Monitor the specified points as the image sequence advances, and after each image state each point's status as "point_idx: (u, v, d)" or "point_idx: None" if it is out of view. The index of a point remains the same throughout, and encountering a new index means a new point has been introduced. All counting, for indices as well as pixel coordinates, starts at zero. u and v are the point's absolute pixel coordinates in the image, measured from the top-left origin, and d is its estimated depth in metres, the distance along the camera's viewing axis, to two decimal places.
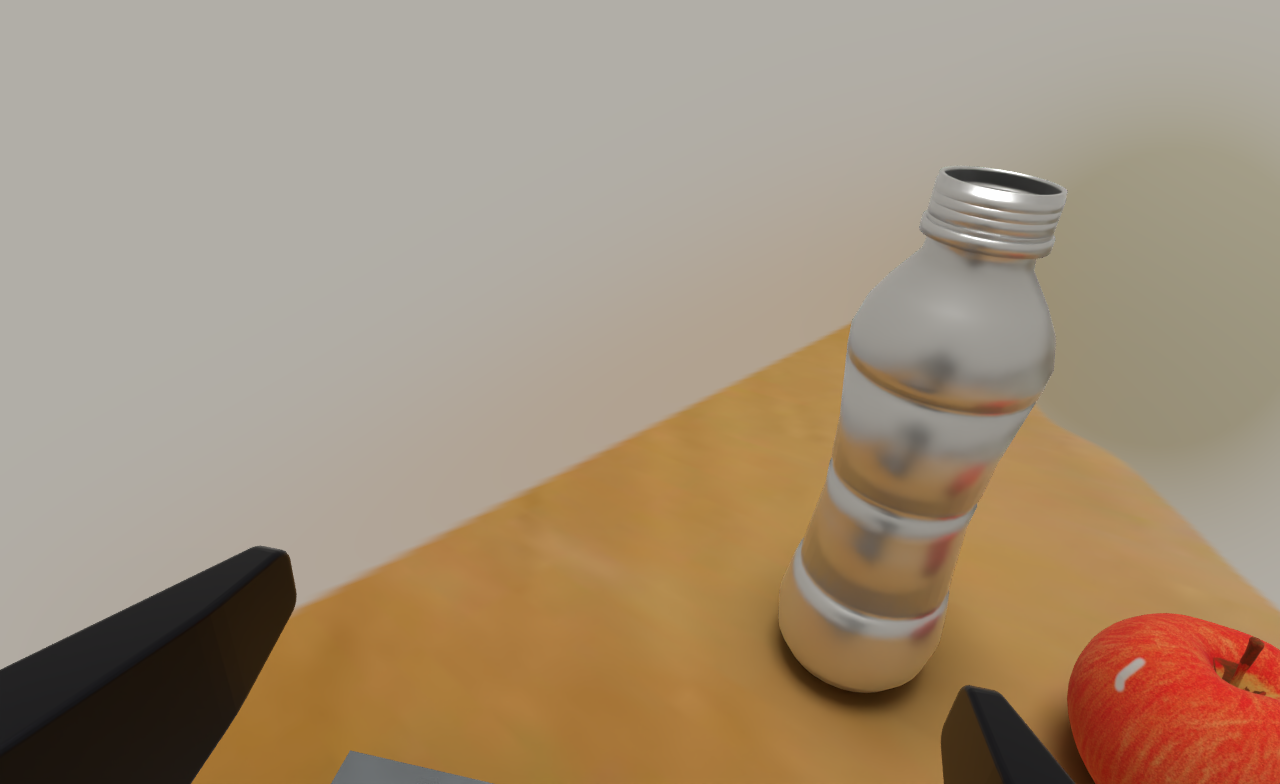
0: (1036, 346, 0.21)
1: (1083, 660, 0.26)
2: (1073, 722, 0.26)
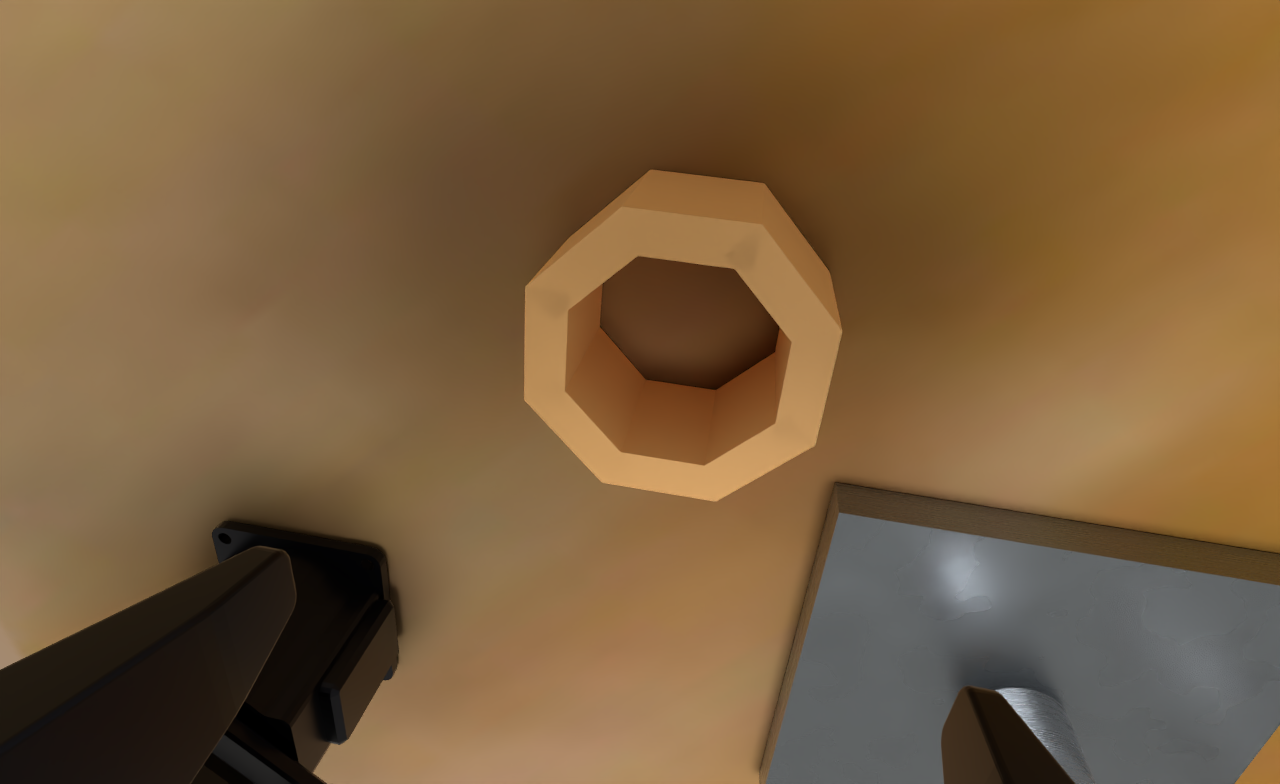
0: None
1: None
2: None
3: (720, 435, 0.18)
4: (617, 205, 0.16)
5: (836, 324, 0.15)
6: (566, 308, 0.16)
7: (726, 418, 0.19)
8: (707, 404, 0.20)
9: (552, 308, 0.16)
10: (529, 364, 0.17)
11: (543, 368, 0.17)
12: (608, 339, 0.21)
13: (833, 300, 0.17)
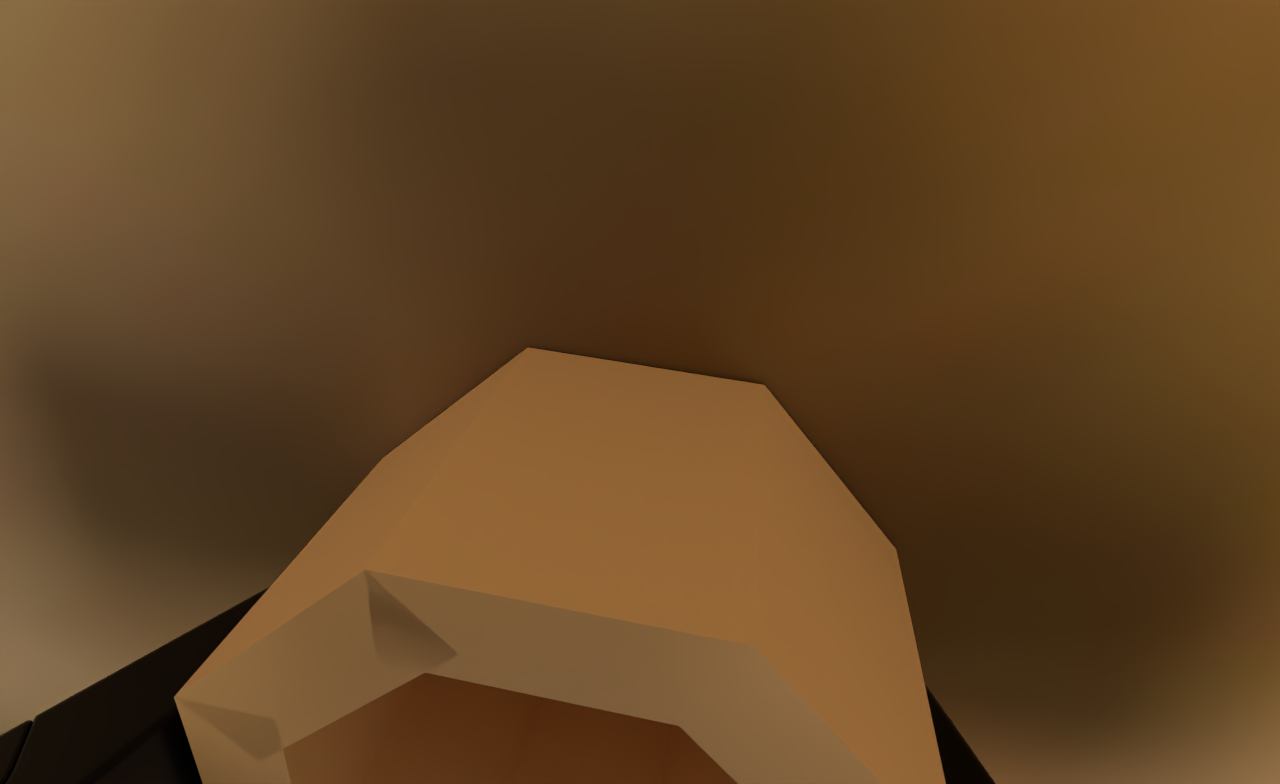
0: None
1: None
2: None
3: None
4: (405, 494, 0.07)
5: None
6: (278, 745, 0.07)
7: None
8: (653, 762, 0.11)
9: (247, 741, 0.07)
10: None
11: None
12: None
13: (922, 699, 0.07)
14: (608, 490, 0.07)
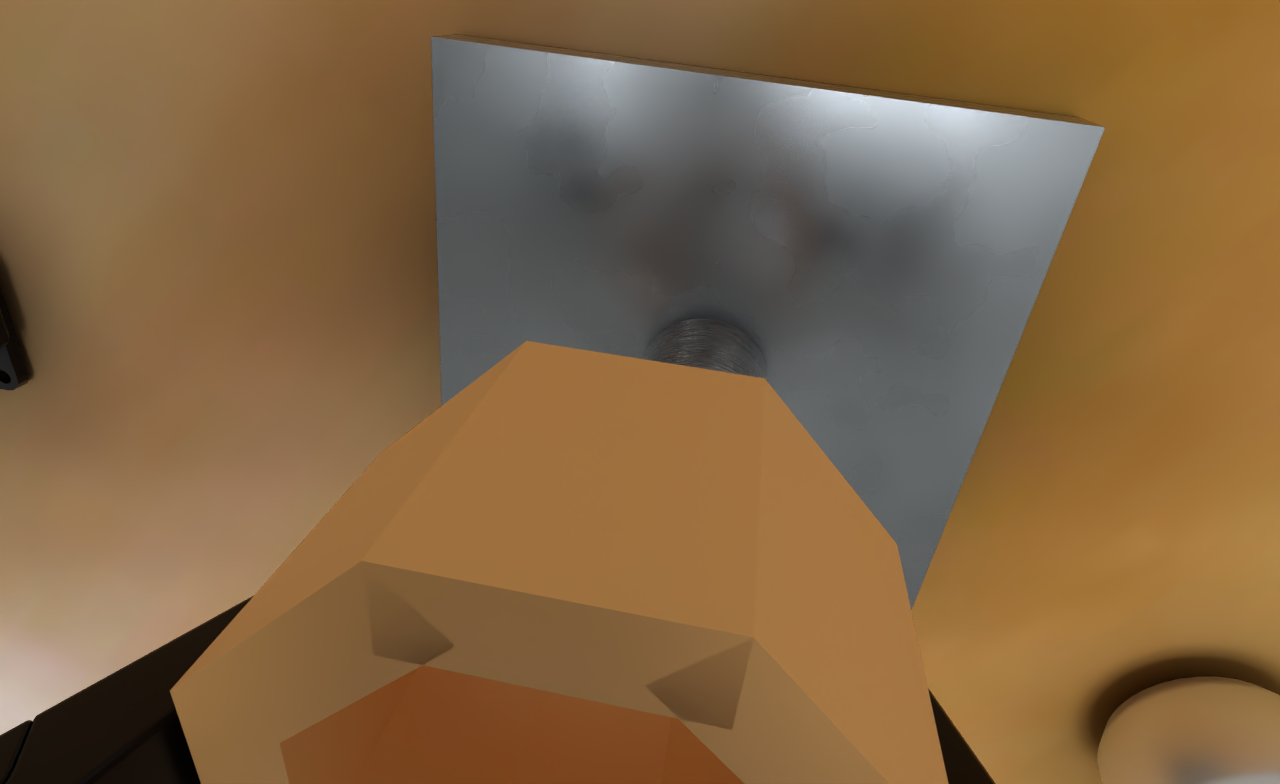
0: None
1: None
2: None
3: None
4: (403, 486, 0.07)
5: None
6: (275, 739, 0.07)
7: None
8: (653, 758, 0.11)
9: (243, 735, 0.07)
10: None
11: None
12: None
13: (923, 694, 0.07)
14: (607, 482, 0.06)
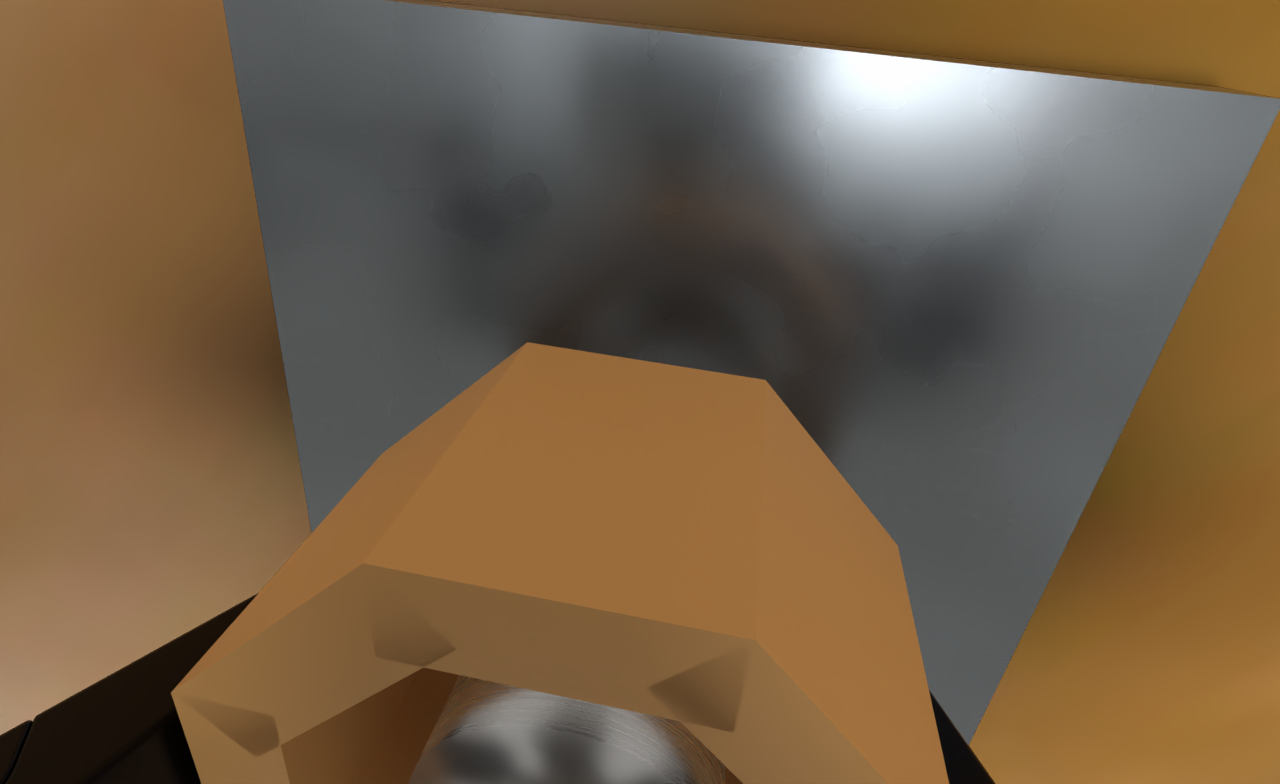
0: None
1: None
2: None
3: None
4: (404, 488, 0.07)
5: None
6: (276, 741, 0.07)
7: None
8: None
9: (244, 737, 0.07)
10: None
11: None
12: None
13: (924, 696, 0.07)
14: (608, 484, 0.06)
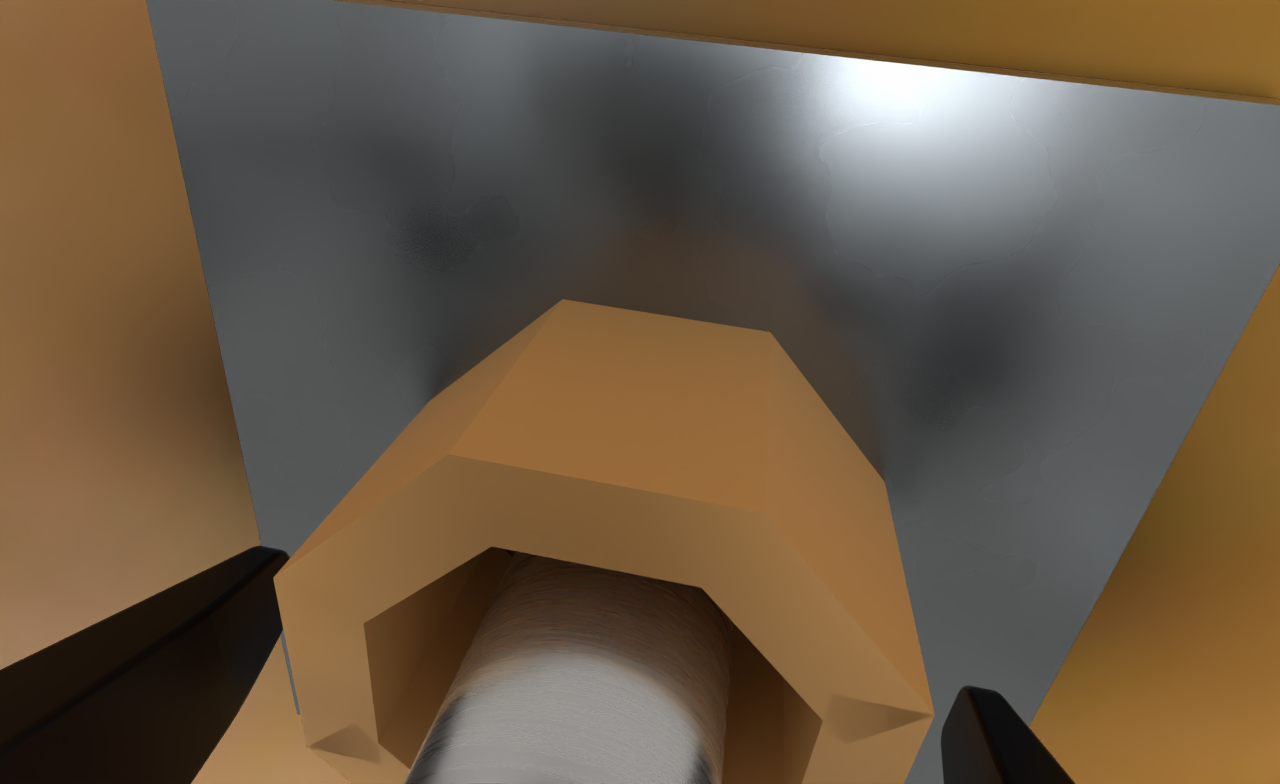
0: None
1: None
2: None
3: None
4: (468, 409, 0.08)
5: (922, 702, 0.07)
6: (360, 620, 0.08)
7: None
8: None
9: (333, 617, 0.08)
10: (307, 696, 0.09)
11: (333, 706, 0.09)
12: (505, 557, 0.12)
13: (903, 592, 0.08)
14: (640, 405, 0.08)
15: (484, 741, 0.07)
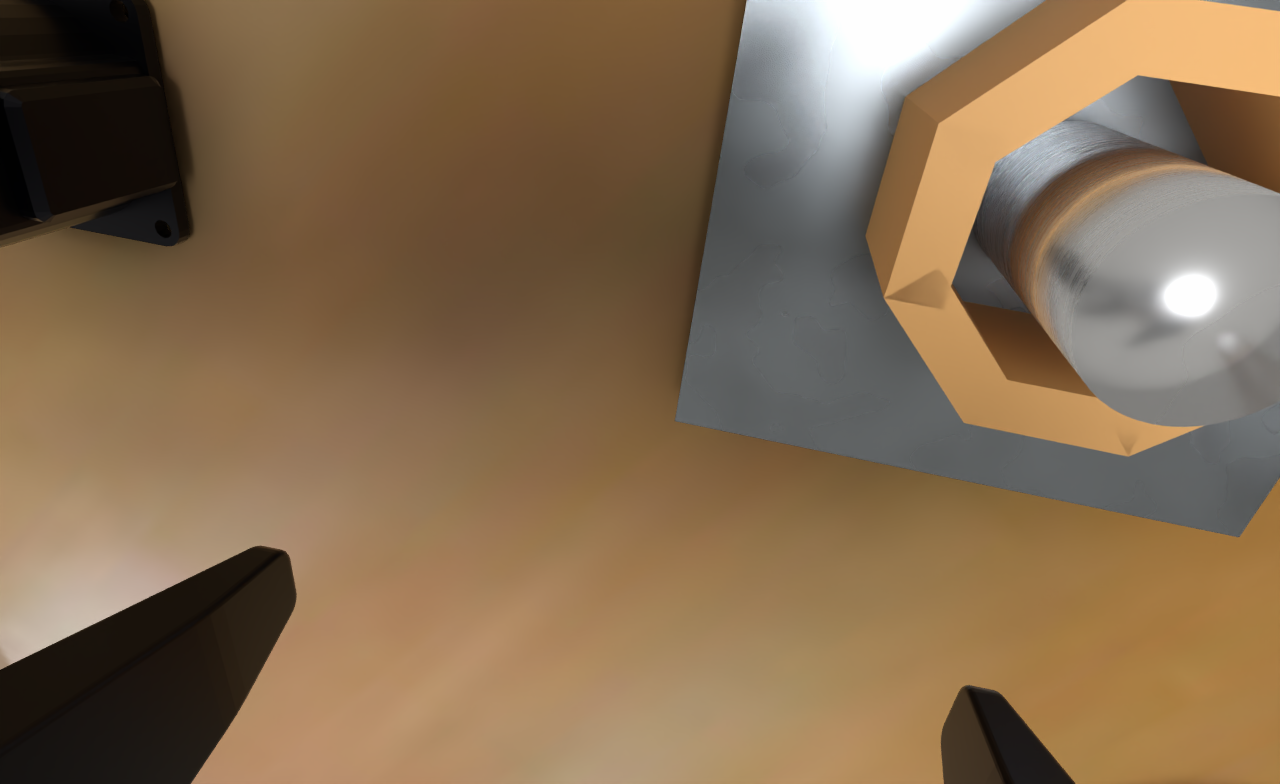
0: None
1: None
2: None
3: None
4: (1074, 14, 0.11)
5: None
6: (993, 159, 0.11)
7: None
8: None
9: (971, 158, 0.11)
10: (907, 245, 0.12)
11: (928, 251, 0.12)
12: None
13: None
14: None
15: (1164, 177, 0.10)
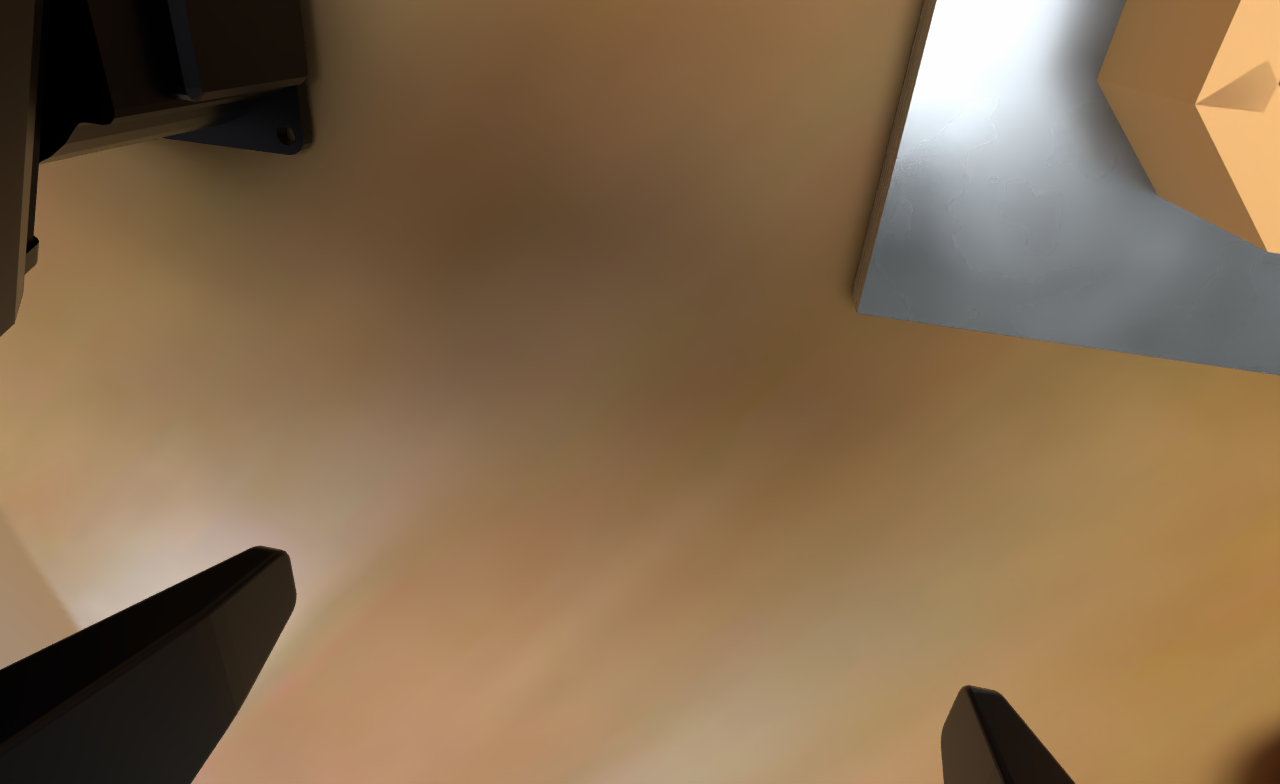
0: None
1: None
2: None
3: None
4: None
5: None
6: None
7: None
8: None
9: None
10: (1233, 36, 0.11)
11: (1258, 41, 0.11)
12: None
13: None
14: None
15: None
